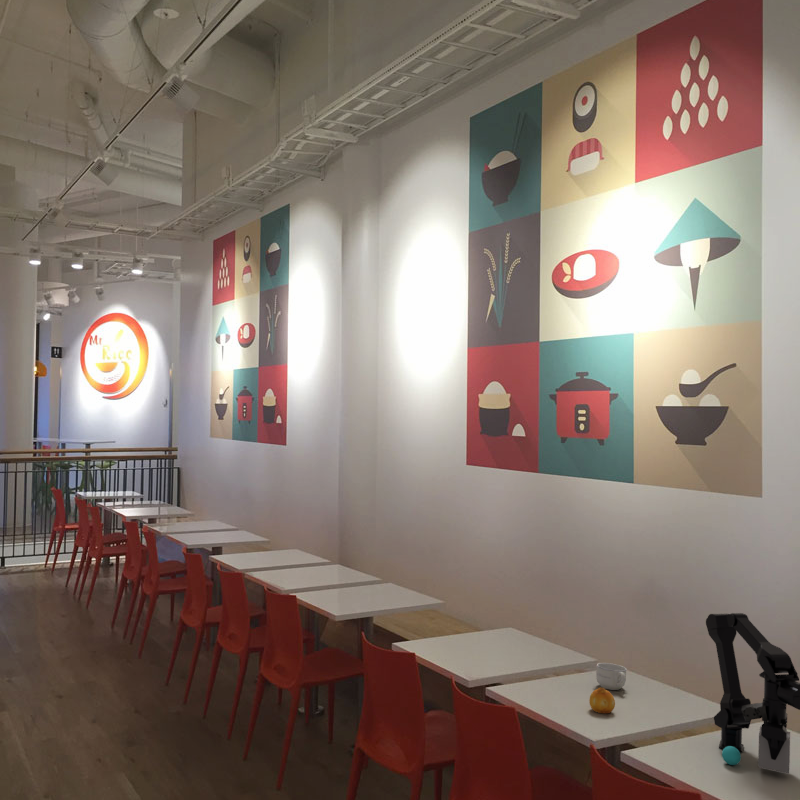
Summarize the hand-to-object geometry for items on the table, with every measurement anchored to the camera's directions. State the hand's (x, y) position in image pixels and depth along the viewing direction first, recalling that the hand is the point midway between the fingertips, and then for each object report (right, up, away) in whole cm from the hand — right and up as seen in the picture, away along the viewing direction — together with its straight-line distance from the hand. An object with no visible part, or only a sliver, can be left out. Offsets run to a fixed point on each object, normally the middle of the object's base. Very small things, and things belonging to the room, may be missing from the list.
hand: (773, 754), depth 220 cm
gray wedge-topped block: (0, -3, 0) cm, 3 cm away
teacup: (-26, -8, +70) cm, 75 cm away
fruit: (-37, -6, +45) cm, 58 cm away
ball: (-10, -3, +5) cm, 11 cm away
